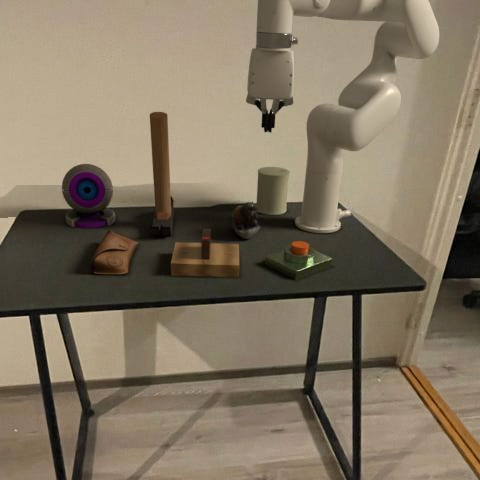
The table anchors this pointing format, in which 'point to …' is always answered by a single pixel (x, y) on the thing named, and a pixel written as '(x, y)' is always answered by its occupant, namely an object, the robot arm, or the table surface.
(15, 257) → the table surface
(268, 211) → the can
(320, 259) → the button box
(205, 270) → the light wood flat block
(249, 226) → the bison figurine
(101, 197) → the webcam
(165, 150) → the hammer
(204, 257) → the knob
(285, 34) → the robot arm
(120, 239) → the sunglasses case
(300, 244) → the button
